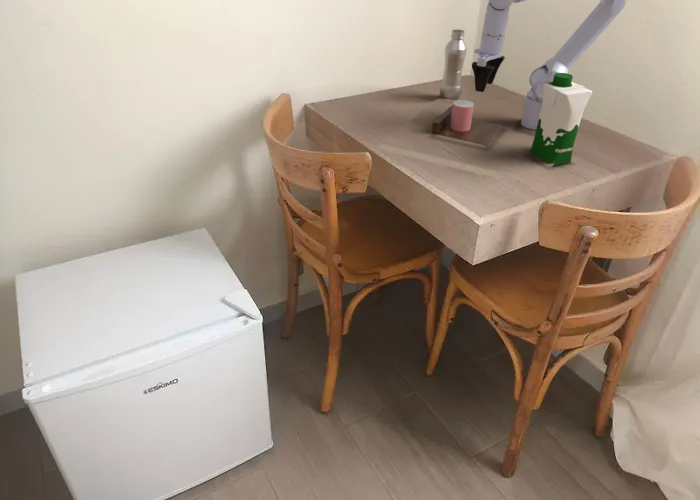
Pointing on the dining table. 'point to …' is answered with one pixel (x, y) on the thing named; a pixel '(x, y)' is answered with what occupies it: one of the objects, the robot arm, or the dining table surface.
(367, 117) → the dining table surface
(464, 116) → the yogurt pot
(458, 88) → the plastic bottle
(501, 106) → the dining table surface
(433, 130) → the serving board
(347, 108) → the dining table surface
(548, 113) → the milk carton
